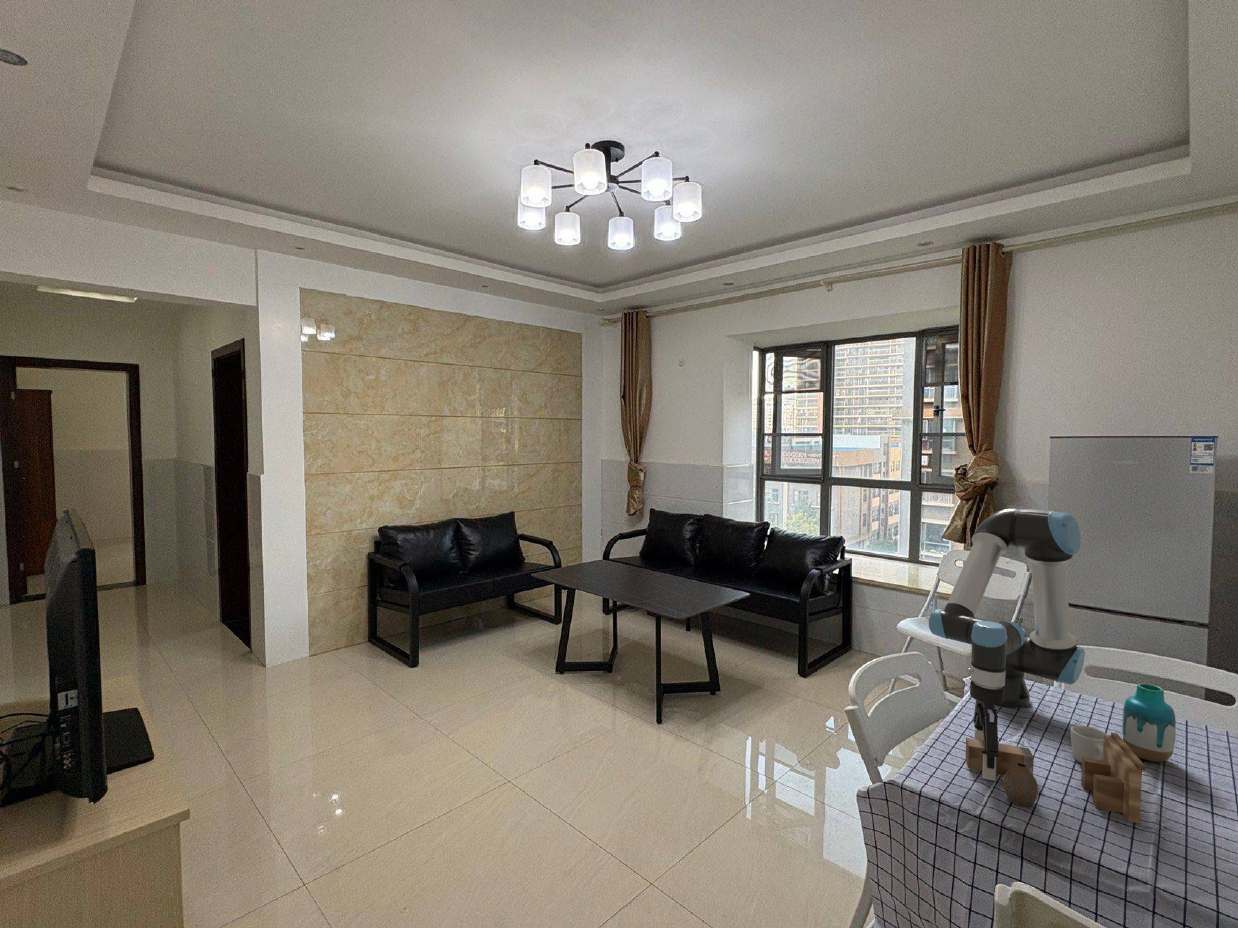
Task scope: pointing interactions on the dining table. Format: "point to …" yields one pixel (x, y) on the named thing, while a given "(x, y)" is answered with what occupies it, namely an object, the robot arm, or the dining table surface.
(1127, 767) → the headboard
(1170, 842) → the dining table surface
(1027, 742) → the dining table surface
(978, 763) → the brown wooden block
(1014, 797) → the vase
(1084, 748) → the cup
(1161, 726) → the vase
